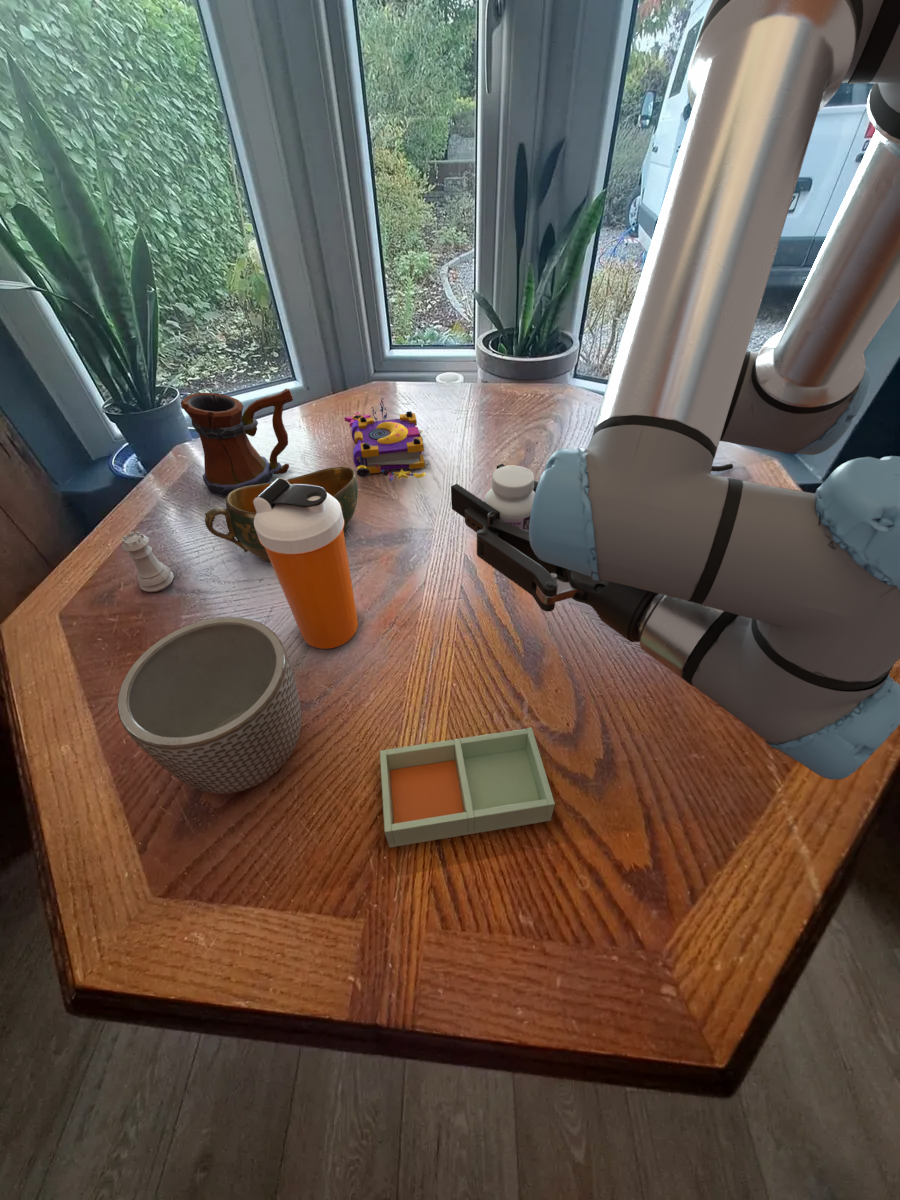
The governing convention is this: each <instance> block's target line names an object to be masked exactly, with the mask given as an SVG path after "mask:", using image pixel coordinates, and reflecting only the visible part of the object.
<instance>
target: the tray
mask: <svg viewBox="0 0 900 1200" xmlns="http://www.w3.org/2000/svg"><path fill="white" fill-rule="evenodd" d="M537 743H538V742H537V740H536V736H535V734H534V730H533V727H527V728H521V729H513V730H507V731H501V732H494V733H488V734H487V733H486V734H480V735H475V736H468V737H461V738H455V739H448V740H441V741H435V742H434V741H433V742H428V743H422V744H414V745H407V746H402V747H394V748H388V749H387V748H386V749H381V750H379V762H380V763H379V764H380V779H381V780H380V782H381V796H382V813H383V815H382V816H383V829H384V836H385V839H386V843H387V845H388V848H389V849H390V848H396V847H402V846H407V845H408V846H409V845H413V844H420V843H425V842H432V841H436V840H444V839H450V838H455V837H461V836H467V835H473V834H478V833H479V834H480V833H485V832H491V831H498V830H503V829H509V828H515V827H521V826H526V825H532V824H533V825H534V824H539V823H546V822H551V821H552V817H553V813H554V809H555V806H556V803H555V799H554V796H553V793H552V790H551V786H550V783H549V780H548V776H547V773H546V770H545V766H544V764H543V759H542V757H541V752H540V750H539V747H538V744H537Z"/></svg>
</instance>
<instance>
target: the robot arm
mask: <svg viewBox="0 0 900 1200" xmlns="http://www.w3.org/2000/svg"><path fill="white" fill-rule="evenodd" d="M846 83H847V85H860V84H872V86H871V87H870V88H871V89H870V91H869V94H868V97H867V103H866V110H867V116H868V118H869V121H870V123H871V125H872V126H873V128H874V129H875V132H874V134H873V135H872V138H871V140H870V142H869V145H868V147H867V149H866V151H865V153H864V155H863V157H862V160H861V162H860V164H859V166H858V168H857V170H856V173H855V175H854V177H853V179H852V180H851V183H850V186H849V188H848V190H847V191H846V195H845V197H844V198H843V201H842V203H841V205H840V207H839V209H838V211H837V214H836V216H835V218H834V220H833V222H832V225H831V226H830V229H829V231H828V233H827V234H826V235H827V236H826V238H825V240H824V242H823V243H822V246H821V248H820V250H819V251H818V254H817V257H816V259H815V261H814V263H813V265H812V268H811V270H810V272H809V274H808V275H807V279H806V281H805V282H804V285H803V287H802V289H801V291H800V292H799V295H798V297H797V300H796V302H795V304H794V306H793V309H792V311H791V313H790V315H789V317H788V319H787V322H786V324H785V326H784V328H783V330H782V331H780V332H778V333H776V334H774V335H773V336H772V337H770V338H769V339H768V340H767V341H766V342H765V343H764V344H763V345H762V347H761V348H760V349H759V351H752V350H751V351H748V347H749V345H750V341H751V338H752V334H753V331H754V327H755V324H756V321H757V318H758V314H759V311H760V307H761V305H762V302H763V298H764V295H765V291H766V287H767V284H768V281H769V278H770V275H771V271H772V268H773V264H774V261H775V257H776V255H777V251H778V247H779V244H780V240H781V238H782V234H783V230H784V227H785V224H786V220H787V217H788V215H789V210H790V207H791V204H792V201H793V198H794V194H795V191H796V187H797V185H798V181H799V178H800V174H801V170H802V168H803V164H804V161H805V157H806V154H807V152H808V151H807V150H808V147H809V143H810V142H811V141H810V140H811V137H812V134H813V130H814V128H815V124H816V121H817V117H818V114H819V112H820V111H821V110H822V109H823V108H824V107H825V106H826V105H827V104H828V103H829V102H830V100H831V99H833V97H834V96H835V94H836V93H837V92H838V90H839V89H840V87H841V86H842V84H846ZM686 84H687V85H686V86H687V96H688V102H689V105H690V108H691V111H690V114H689V118H688V121H687V125H686V129H685V131H684V135H683V138H682V141H681V145H680V148H679V151H678V154H677V158H676V161H675V163H674V167H673V170H672V174H671V176H670V180H669V183H668V186H667V190H666V193H665V197H664V199H663V202H662V205H661V210H660V213H659V216H658V218H657V223H656V224H655V229H654V232H653V235H652V239H651V242H650V244H649V248H648V252H647V255H646V258H645V261H644V264H643V267H642V270H641V273H640V277H639V281H638V282H637V287H636V291H635V294H634V296H633V300H632V303H631V307H630V309H629V313H628V315H627V318H626V323H625V326H624V329H623V332H622V336H621V339H620V342H619V345H618V349H617V352H616V355H615V359H614V362H613V364H612V369H611V371H610V374H609V377H608V381H607V384H606V386H605V387H606V388H605V391H604V394H603V397H602V401H601V403H600V406H599V409H598V413H597V417H596V420H595V423H594V426H593V431H592V435H591V438H590V440H589V443H588V445H587V447H586V448H583V447H581V446H580V447H577V448H575V449H574V448H566V447H565V448H559V449H557V450H555V451H554V452H553V453H552V454H551V455H550V456H549V458H548V460H547V462H546V463H545V468H544V470H543V472H541V474H540V477H539V479H538V480H536V479H534V489H533V491H534V492H535V496H534V500H533V505H532V509H531V516H530V523H529V531H527V530H524V529H522V528H519V527H517V526H514V525H511V524H509V523H506V522H504V521H501V520H499V517H500V512H499V511H497V510H496V509H494V508H493V507H491V506H490V505H488V504H487V503H485V502H484V500H482V499H481V498H479V497H478V496H476V495H474V494H473V493H471V492H470V491H469V490H467V489H466V488H464V487H463V486H461V485H460V484H458V483H454V484H452V485H451V486H450V494H451V495H450V497H451V510H452V511H454V512H455V513H457V514H458V515H460V516H461V517H462V518H464V523H465V525H466V526H467V527H468V528H469V529H471V530H473V532H475V533H476V556H477V557H478V558H480V559H481V560H482V561H483V562H485V563H486V564H488V565H489V566H490V567H492V568H493V569H495V570H496V571H498V572H499V573H500V574H501V575H503V576H505V577H506V578H507V579H509V580H510V581H511V582H513V583H514V584H516V585H517V586H518V587H519V588H521V589H523V590H524V591H525V592H527V593H528V594H530V595H531V596H532V598H533V599H534V600H535V602H536V603H537V605H538V607H539V608H540V609H541V610H542V611H544V612H552V611H554V610H555V606H556V603H558V602H561V601H564V600H569V599H572V600H574V601H576V602H578V603H582V604H585V605H588V606H590V607H591V608H592V609H593V610H594V611H595V613H596V614H597V616H598V618H599V619H600V621H601V622H602V623H604V624H605V625H607V626H608V627H609V628H611V629H612V630H613V631H615V632H616V633H618V634H619V635H620V636H622V637H623V638H625V639H626V640H627V641H629V642H631V643H639V647H640V649H641V650H642V651H643V652H645V653H646V654H647V655H649V656H650V657H651V658H653V659H654V660H656V661H657V662H658V663H660V664H661V665H663V666H664V667H665V668H667V669H668V670H669V671H670V672H672V673H673V674H675V675H676V676H677V677H679V678H681V679H682V680H684V681H685V682H686V683H687V684H689V685H690V686H692V687H694V688H695V689H697V690H698V691H699V692H701V693H702V694H704V695H705V696H707V697H708V698H709V699H710V700H712V701H713V702H714V703H715V704H717V705H718V706H719V707H721V709H723V710H725V711H726V712H728V713H729V714H730V715H732V716H733V717H734V718H735V719H737V720H738V721H740V722H741V723H742V724H744V725H745V726H746V727H748V728H749V729H750V730H752V732H754V733H755V734H757V735H758V736H759V737H761V738H762V739H763V740H765V742H766V744H767V745H768V746H769V747H771V748H772V749H776V750H778V751H780V752H781V753H783V754H785V755H787V756H788V757H790V758H791V759H793V760H795V761H796V762H798V763H799V764H801V765H802V766H803V767H804V768H805V767H806V768H807V769H808V770H810V771H812V772H813V773H814V774H816V775H817V776H820V777H821V778H824V779H827V780H830V781H831V780H832V781H837V780H844V779H846V778H849V777H850V776H851V775H853V774H854V773H856V771H857V770H859V768H861V767H862V765H863V764H864V763H865V762H867V760H869V758H870V757H871V756H872V755H873V754H874V753H875V751H877V750H878V749H880V747H881V746H882V745H883V744H884V742H886V741H887V739H888V738H889V737H890V736H891V735H892V734H893V733H894V732H895V731H896V730H897V729H898V727H899V726H900V684H899V683H898V682H897V681H895V680H894V678H892V676H891V671H892V669H893V668H894V665H895V664H896V663H898V661H899V660H900V456H899V455H897V456H896V455H889V456H888V455H887V456H883V457H881V458H876V457H873V456H864V457H857V458H854V459H850V460H847V461H846V462H844V463H841V464H840V465H839V466H837V467H836V468H835V469H834V470H832V472H831V473H830V474H829V476H828V477H827V478H826V479H825V480H824V481H823V482H822V483H821V484H820V486H819V487H818V488H816V491H815V493H814V492H807V491H802V490H797V489H791V488H785V487H780V486H775V485H770V484H763V483H758V482H752V481H747V480H742V479H739V478H738V479H737V478H733V477H723V476H720V475H716V474H712V472H725V471H729V470H732V469H733V468H734V464H733V463H727V464H724V465H713V464H714V460H715V458H716V454H717V451H718V447H719V444H720V442H725V443H730V444H736V445H741V446H746V447H750V448H751V447H752V448H757V449H763V450H769V451H773V452H779V453H784V454H787V455H795V454H796V455H797V454H799V455H808V456H813V455H814V456H815V455H819V454H822V453H824V452H826V451H828V450H830V449H831V448H832V447H833V446H835V445H836V443H838V442H839V441H840V440H841V439H842V437H843V436H844V435H845V434H846V432H847V431H848V430H849V428H850V427H851V425H852V423H853V419H854V418H855V417H856V416H858V414H859V412H860V410H861V408H862V406H863V404H864V402H865V400H866V397H867V394H868V391H869V387H870V384H871V372H870V369H869V368H868V367H867V366H866V357H865V353H864V352H865V351H866V349H867V348H868V346H869V345H870V343H871V342H872V340H873V339H874V338H875V336H876V335H877V333H878V332H879V330H880V329H881V327H882V326H883V324H884V323H885V321H886V320H887V318H888V317H889V316H890V314H891V312H893V310H894V309H895V307H896V305H897V304H898V303H899V301H900V0H712V1H711V3H710V5H709V7H708V10H707V12H706V15H705V18H704V20H703V23H702V25H701V28H700V31H699V33H698V37H697V41H696V44H695V47H694V50H693V54H692V56H691V60H690V63H689V69H688V73H687V82H686ZM503 466H506V465H505V464H503V463H500V464H498V465H496V469H498V468H500V467H503Z"/></svg>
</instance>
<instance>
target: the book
mask: <svg viewBox="0 0 900 1200" xmlns="http://www.w3.org/2000/svg"><path fill="white" fill-rule="evenodd" d="M384 400H385V399H384V398H383V397H381V400H380V403H379V405H380V408H381V409H380V412H381V417H382V419H381V420H378V417H376V416H375V414H377V411H375V408H374V406H371V409H370V410H372V415H371V414H361V413H359V412H355V414H354V415H352V416H351V415H350V416H344V417H343V419H344V422H346V423H349V428H350V431H351V439H352V441H353V443H354V444H355V445H354V447H353V450H352V457H353V464H354V467H355V468H356V476H359V477H360V478H367V477H368V476H370V475H371V474H377V473H383V474H382V475H384V476H386V477H387V476H388V475H389V477H388V480H389V482H393V481H394V479H395V478H394V476H396V477H397V480H400V479H402V478H404V479H407V480H408V479H409V476H412V477H414V478H417V479H420V478H424V477H425V476H426V475H427V474H426V472H424V471H423V472H422V473H416V472H414V473H411V470H415V469H416V470H417V469H425V468H426V462H425V458H424V454H422V452H424V451H425V445H424V440H423V437H422V435H421V434H422V433H423V430H419V427H418V422H417V416H416V413H415V412H412V411H406V413H402V414H401V413H400V414H399V418H394V419H393V418H392V419H387V416H388V413H387V412H386V411H387V409H386V407H384ZM384 411H385V412H384ZM372 416H373V417H372ZM407 468H409V470H408V471H406V470H405V471H404V470H403V469H407ZM391 470H400V471H397V472H396V471H395V472H390V471H391Z"/></svg>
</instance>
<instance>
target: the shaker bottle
mask: <svg viewBox="0 0 900 1200" xmlns="http://www.w3.org/2000/svg"><path fill="white" fill-rule="evenodd" d="M270 483H271V484H270V485H269V486H268V487H267V488H266V489H265V490H264V491H262V492H261V493H260V494H259V495H258V496H257V497H256V498H255V499H254V501H253V503H254V506H255V509H256V512H257V513H256V515H255V518H254V527H255V530H256V532H257V535H258V539H259V541H260V543H261V545H263V546H264V547H265V550H266V552H267V554H268V557H269V559H270V561H271V563H270V564H271V566H272V568H273V571H274V574H275V575H276V578H277V581H278V582H279V585H280V587H281V590H282V592H283V594H284V597H285V599H286V602H287V604H288V606H289V608H290V609H289V610H290V611H291V613H292V616H293V618H294V621H295V623H296V626H297V628H298V630H299V633H300V635H301V638H302V639H303V641H304V642H305V643H306V644H307V645H309V646H310V647H313V648H315V649H321V650H322V649H323V650H329V649H333V648H334V649H335V648H338V647H340V646H342V645H345V644H346V643H347V642H349V641H350V640H351V639H353V637H354V636H355V634H356V633H357V630H358V626H359V622H358V621H359V620H358V614H357V607H356V601H355V595H354V589H353V582H352V575H351V570H350V563H349V557H348V551H347V550H348V549H347V545H346V538H345V532H344V531H343V528H344V518H343V514H342V510H341V506H340V503H339V502H338V501H337V499H335V498H334V497H333V496H331V495H330V494H329V493H327V492H326V490H325V489H324V488H322V487H319V486H313V485H304V484H290V483H289V482H288V481H287V479H285V478H283V477H277V478H276V479H274V480H273V482H272V481H271V482H270Z"/></svg>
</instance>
